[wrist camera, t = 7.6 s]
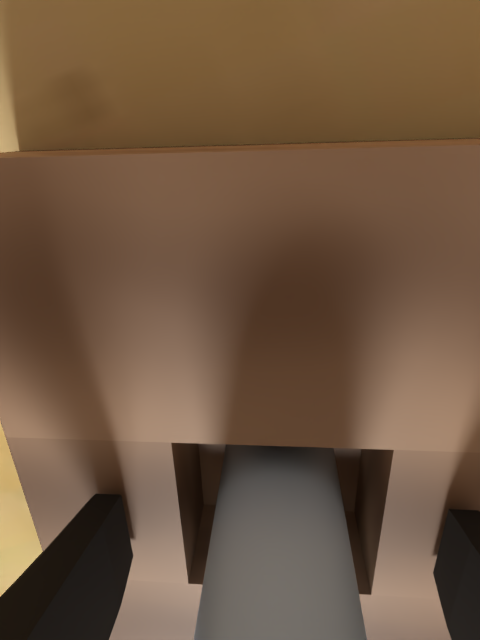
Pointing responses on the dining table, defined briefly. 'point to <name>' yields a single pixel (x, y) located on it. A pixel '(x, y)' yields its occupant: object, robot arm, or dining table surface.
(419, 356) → the socket block
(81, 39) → the dining table surface
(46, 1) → the dining table surface
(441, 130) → the dining table surface
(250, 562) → the pin
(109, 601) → the robot arm
